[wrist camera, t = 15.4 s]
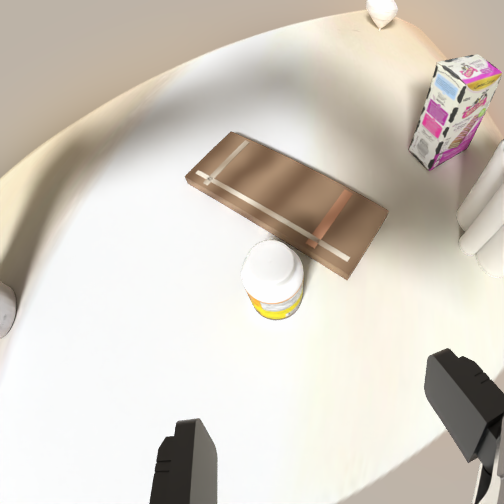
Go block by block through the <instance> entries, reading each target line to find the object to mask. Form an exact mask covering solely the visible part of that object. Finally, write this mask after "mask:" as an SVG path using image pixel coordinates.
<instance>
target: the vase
mask: <svg viewBox="0 0 504 504" xmlns="http://www.w3.org/2000/svg"><path fill="white" fill-rule="evenodd" d="M456 217H457V221H458V223H459V225H460V227H461V228H462V229H463V231H465V233H464V234H463V235H462V236H461V238H460V239H459V247H460V249H461V250H462V252H463V253H464V254H466V255H468V256H473V255H474V254H475V253H476V258H477V260H478V263H479V265H480V266H481V268H482V269H483V271H484V272H486V273H487V274H488V275H489V276H492V277H494V278H501V277H504V139H503V140H502V141H501V142H500V144H499V145H498V147H497V149H496V151H495V152H494V154H493V156H492V157H491V159H490V161H489V162H488V164H487V166H486V167H485V169H484V171H483V172H482V174H481V175H480V177H479V178H478V180H477V182H476V183H475V185H474V186H473V188H472V189H471V191H470V192H469V194H468V195H467V197H466V198H465V200H464V201H463V203H462V204H461V206H460V207H459V209H458V211H457V214H456Z"/></svg>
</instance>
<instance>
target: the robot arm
mask: <svg viewBox="0 0 504 504" xmlns="http://www.w3.org/2000/svg"><path fill="white" fill-rule="evenodd" d="M15 313H16V297H15V294H14V292H13V290H12V289H11V288H10V287H9V286H7V285H6V284H4V283H2V282H0V338H2V337H4V336H5V335H6V334H7V333H8V331H9V330H10V328H11V326H12V324H13V321H14V318H15ZM424 390H425V394H426V397H427V400H428V401H429V403H430V404H431V406H432V407H433V409H434V410H435V412H436V413H437V415H438V416H439V418H440V419H441V421H442V422H443V424H444V425H445V427H446V429H447V430H448V432H449V433H450V435H451V436H452V438H453V439H454V441H455V443H456V444H457V446H458V447H459V449H460V450H461V452H462V453H463V455H464V457H465V458H466V460H467V462H468V463H469V462H471V461H473V460H474V459H476V458H479V459H480V461H481V463H480V467H479V472H478V477H477V482H476V487H475V491H474V495H473V500H472V504H504V393H503V392H502V391H501V390H500V389H499V388H498V387H497V385H496V384H495V383H494V382H493V381H492V380H490V379H489V377H488V376H487V374H486V373H485V372H484V373H483V370H482V369H481V368H480V367H479V366H478V365H477V364H476V363H475V362H474V361H472V360H470V359H468V358H466V357H464V356H462V357H460V358H458V357H457V356H456V355H455V354H454V353H453V352H452V351H451V350H450V349H448V348H446V349H444V350H442V351H439V352H437V353H435V354H432V355H430V356H429V357H428V359H427V368H426V376H425V384H424ZM156 461H157V463H156V466H155V474H154V478H153V484H152V490H151V497H150V503H149V504H217V452H216V448H215V445H214V443H213V441H212V439H211V437H210V436H209V434H208V432H207V430H206V428H205V427H204V425H203V423H202V421H201V420H200V419H199V418H198V419H190V420H182V421H178V422H177V423H176V427H175V434H174V436H170V437H166V438H165V439H164V441H163V442H162V444H161V446H160V447H159V449H158V455H157V460H156Z"/></svg>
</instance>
